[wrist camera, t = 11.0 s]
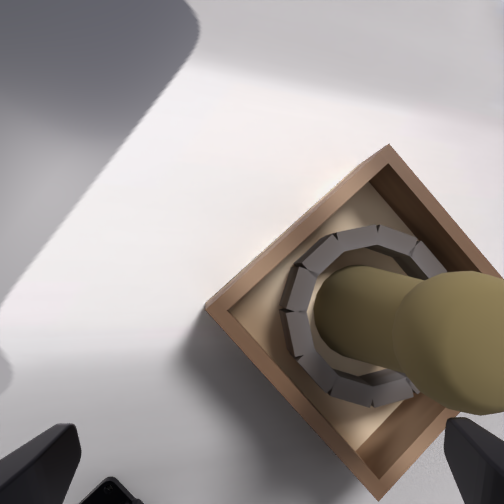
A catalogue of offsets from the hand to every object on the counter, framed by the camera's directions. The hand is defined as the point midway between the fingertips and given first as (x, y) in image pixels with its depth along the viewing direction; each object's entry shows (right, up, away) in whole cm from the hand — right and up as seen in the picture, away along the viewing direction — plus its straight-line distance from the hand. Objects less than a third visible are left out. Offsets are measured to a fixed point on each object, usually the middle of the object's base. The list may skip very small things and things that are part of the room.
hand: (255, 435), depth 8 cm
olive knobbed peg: (+7, +1, +14) cm, 16 cm away
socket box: (+7, +1, +15) cm, 16 cm away
